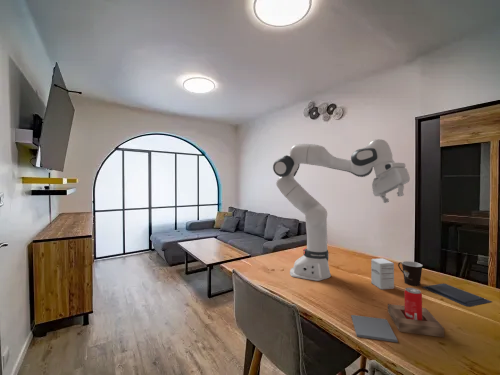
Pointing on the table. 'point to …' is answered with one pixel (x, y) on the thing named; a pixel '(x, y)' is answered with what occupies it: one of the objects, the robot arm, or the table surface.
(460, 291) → the wallet
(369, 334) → the coaster tile
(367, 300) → the table surface
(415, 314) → the beverage can
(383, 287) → the supplement box
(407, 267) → the coffee mug
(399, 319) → the can holder
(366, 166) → the robot arm
